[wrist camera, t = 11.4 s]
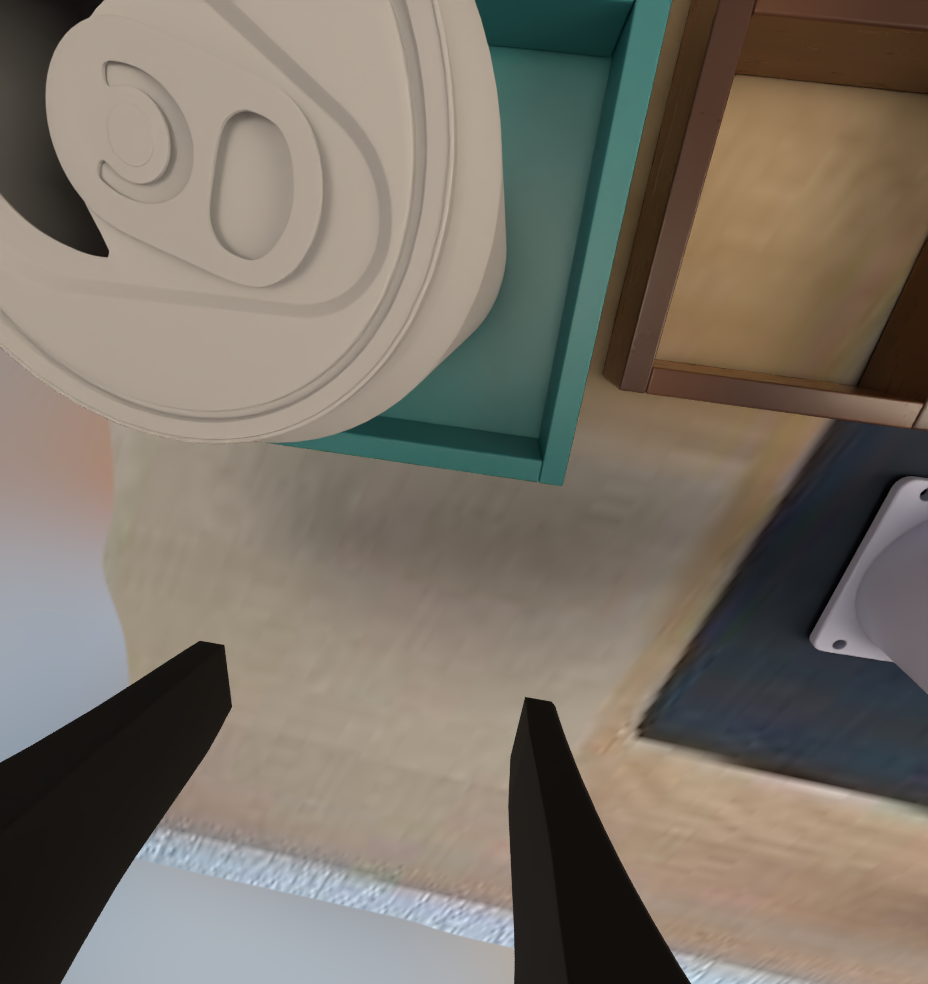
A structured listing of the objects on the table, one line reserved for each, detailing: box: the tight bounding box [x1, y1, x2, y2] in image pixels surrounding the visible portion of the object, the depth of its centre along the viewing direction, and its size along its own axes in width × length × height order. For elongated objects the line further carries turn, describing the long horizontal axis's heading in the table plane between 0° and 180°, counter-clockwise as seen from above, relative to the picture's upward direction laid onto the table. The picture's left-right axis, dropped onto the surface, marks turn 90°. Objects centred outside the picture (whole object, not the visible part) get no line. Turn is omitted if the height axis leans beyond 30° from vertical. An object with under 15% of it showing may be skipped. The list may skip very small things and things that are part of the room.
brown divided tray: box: [603, 0, 928, 432], centre depth 11 cm, size 9×18×3 cm, turn 173°
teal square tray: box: [264, 0, 672, 486], centre depth 14 cm, size 12×13×3 cm
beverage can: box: [0, 0, 507, 444], centre depth 9 cm, size 6×6×12 cm
